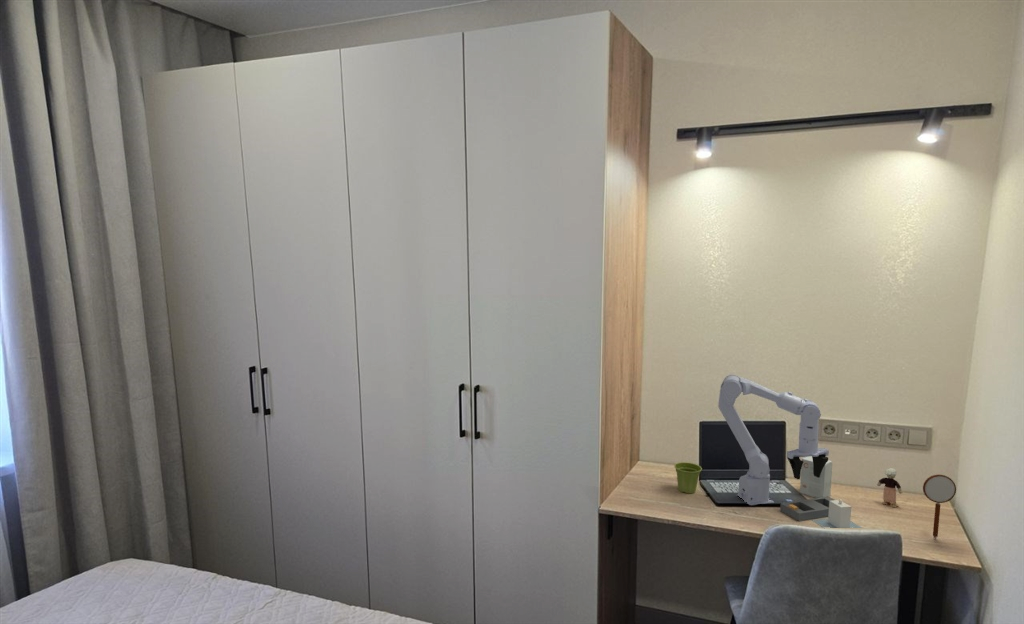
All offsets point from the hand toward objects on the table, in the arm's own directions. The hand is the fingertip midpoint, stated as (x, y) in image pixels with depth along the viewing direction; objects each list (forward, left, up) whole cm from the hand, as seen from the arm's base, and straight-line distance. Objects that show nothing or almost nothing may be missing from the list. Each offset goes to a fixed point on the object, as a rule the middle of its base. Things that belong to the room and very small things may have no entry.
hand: (806, 477), depth 197 cm
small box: (+11, +8, -11) cm, 17 cm away
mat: (+1, -15, -10) cm, 18 cm away
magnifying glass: (+24, -27, -11) cm, 37 cm away
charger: (+1, -14, -10) cm, 18 cm away
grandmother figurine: (+31, -3, -11) cm, 33 cm away
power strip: (0, -5, -11) cm, 12 cm away
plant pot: (-32, +20, -11) cm, 40 cm away
